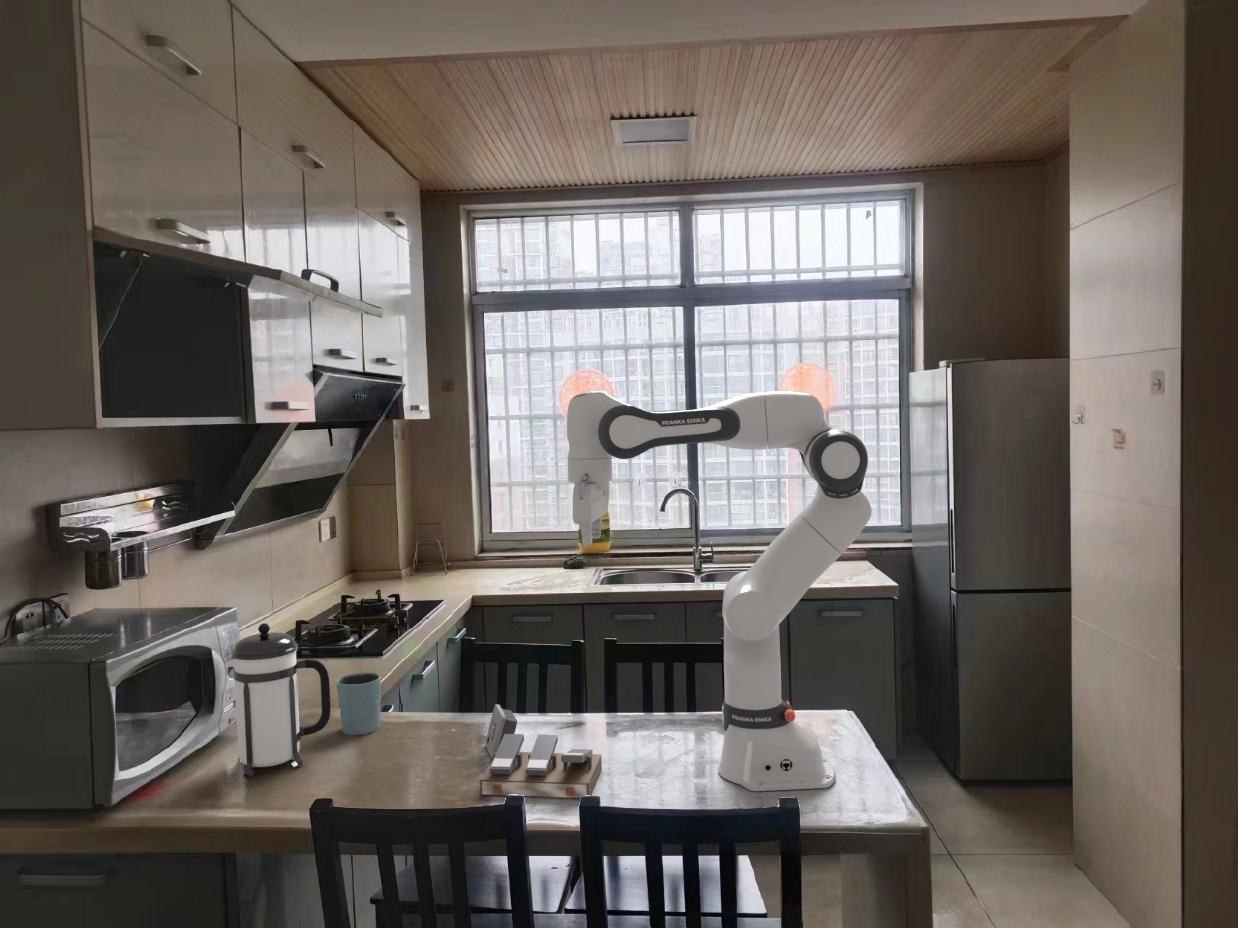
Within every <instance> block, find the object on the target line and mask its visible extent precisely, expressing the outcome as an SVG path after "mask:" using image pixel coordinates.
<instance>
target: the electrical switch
mask: <svg viewBox="0 0 1238 928" xmlns="http://www.w3.org/2000/svg"><path fill="white" fill-rule="evenodd" d="M517 725H518V720H517V718H516V716H515V715H514V712H513V711H512V710H509V709H504V708H502V707H501V705H500V704H494V707H493V711H492V713H491V718H490V722H489V726H488V730H487V734H486V739H485V743H484V744H485V745H484V746H485V748H486V750H487V752H488V755H489V758H490V759H492V760H493V759H494V755H493V754H494V753H495V752H497V750H498V748H499V746H500V743H501V741H502V739H503V736H504V734H516V733H515V732H516V729H517Z"/></svg>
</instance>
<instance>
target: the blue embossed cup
mask: <svg viewBox="0 0 1238 928" xmlns="http://www.w3.org/2000/svg"><path fill="white" fill-rule="evenodd" d="M335 684H336V689H337V690H336V691H337V697H338V707H339V710H340V711H339V714H340V721H341V729H342V733H343V734H345V735H347V736H364V735H368V733H369V734H371V732H372V733H375V732H376V730H377V731H378V730H379V729H380V727H381V701H382V700H381V689H382V686H381V685H382V676H381V674H379V673H376V672H357V673H351V674H347V675H346V674H345V675H344V676H341V677H338V678H337V680H336V682H335ZM374 731H375V732H374Z"/></svg>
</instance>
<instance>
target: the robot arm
mask: <svg viewBox="0 0 1238 928" xmlns="http://www.w3.org/2000/svg"><path fill="white" fill-rule="evenodd" d="M825 420H826V419H825V411H824V408H823V405H822V404H821V401H819V399H818V398H817V397H816V396H815V395H813V394H810V393H806V392H798V391H797V392H796V391H766V392H756V393H755V392H754V393H748V394H744V395H742V394H741V395H739V396H736V397H735V396H734V397H732V398H728V399H724V400H722V401H721V402H718V403H715V404H712V405H710V406H706V407H702V408H697V409H688V410H687V409H686V410H675V411H662V412H661V411H659V412H658V411H657V412H655V411H647V410H645V409H643V408H641V407H637V406H634V405H631V404H628V403H625V402H624V401H621V400H619V399H617V398H614V397H613V396H611V395H610V394H608V393H607V392H606V391H603V390H595V391H594V390H593V391H587V392H583V393H579V394H576V395H574V396H573V397H572V398H571V399H570V401H569V403H568V406H567V413H566V438H567V441H568V453H567V479H568V480H567V481H568V482H569V483H573V484H574V486H573V487H572V488H573V490H572V520H573V524H574V525H579V529H580V535H581V544H582V545H583V546H591V545H592V544H593V540H598V539H600V538H601V536H602V534H601V533H602V532H601V529H602V528H601V527H602V523H603V521H602V520H603V518H602V517H603V516H604V515H607V513H608V508H609V502H610V501H609V497H610V482H611V481H613V462H612V459H613V457H614V458H616V459H620V460H629V459H633V458H636V457H637V456H639V455H642V454H644V453H646V452H648V451H649V450H651V449H654V448H657V447H664V446H665V447H666V446H675V445H677V446H678V445H688V444H712V445H717V446H723V447H726V448H729V449H737V450H738V449H739V450H751V451H752V450H753V451H755V450H757V451H758V450H759V451H760V450H772V449H792V450H796V451H798V452H799V455H800V457H801V461H802V462H803V466H804V467H805V470H806V472H807V473H808V474H809V476H810V477H811V478H812V480H814V481H816V483H817V487H818V488H817V492H816V494H815V497H813V499H812V500H811V502H810V503H809V504H808V505H807V506H806V507H805V508H804V509H803V510H802V511H801V512H800V513H799V514H798V515H797V516H796V517H795V518H794V519H793V520H792V521H791V522H790V523H789V524H788V525H787V526H786V527H785V528H783V530H782V531H781V532H780V533H779V534H778V535H777V536H776V538H774V539H773V540H772V541H771V542H770V544H769V545H768V547H767V548H766V549H765V550H764V551H763V552H762V554H761V555H760V556H759V558H758V559H756V561H755V562H754V563H753V564H752V565H751V567H750V568H749V569H748V570H746V571H745V570H744V571H741V572H739V573H737V574H735V575H734V576H732V577H731V578H730V580H728V581H727V584H726V585H725V587H724V591H723V596H722V597H723V598H722V609H721V611H722V618H723V673H724V675H723V676H724V698H723V700H722V706H721V711H722V712H721V713H722V715H721V717H722V719H721V721H722V726H723V730H724V733H723V744H722V752H721V757H720V761H719V764H718V768H717V771H718V774H719V775H720V776H721V777H722V778H723V779H725V780H727V781H729V782H732V783H735V784H737V785H740V786H742V787H743V788H746V789H747V790H749V791H751V792H766V791H767V792H768V791H770V792H771V791H789V790H790V791H791V790H809V789H811V790H812V789H813V790H814V789H828V788H829V787H831V786H832V785H833V784H834V782H835V778H836V777H835V776H836V775H835V769H834V765H833V764H832V763H831V762H830V761H829V760H828V759H827V758H826V757H824V756H823V752H822V749H821V746H820V744H819V742H818V740H817V738H816V737H815V736H814V735H813V733H811V732H810V731H808V730H806V729H805V728H804V727H802V726H801V725H800V724H799V723H797V722H796V721H795V720H796V712H795V710H793V707H792V705H791V704H790V702H789V700H786V701H785V700H783V699H782V669H781V667H782V665H781V646H780V640H781V639H780V624H781V623H782V622H783V620H784V619H785V618H786V617H787V616H788V615H789V614H790V612H791V611H792V610H793V609H794V608H795V606H796V605H797V604H798V603H799V601H801V599H802V598H803V597H804V595H805V594H806V593H807V591H808V590H809V589H810V588H811V586H812V585H813V584H814V583H815V582H816V581H817V580H818V579H819V578H820V576H822V575H823V574H824V573H825V572H826V571H827V570H828V569H829V568H830V567H831V566H832V565H833V564H834V563H835V561H837V560H838V559H839V558H840V556H842V554H843V553H845V552H846V550H847V549H849V547H850V546H851V545H852V544H853V543H854V541H856V539H857V538H858V536H859V535H860V534H861V533H862V531H863V530H864V529H865V527H866V525H868V522H869V521H870V518H872V513H873V512H872V506H871V503H870V501H869V499H868V497H867V496H866V495H865V493H864V492H862V488H863V484H864V481H865V476H866V473H867V471H868V465H869V455H868V451H867V447H866V446H865V444H864V443H863V441H862V440H861V439H860V438H859V437H858V436H857V435H855V434H853V433H852V432H850V431H846V430H843V429H837V428H833V427H832V426H829V425H828V424H827V422H826V421H825Z"/></svg>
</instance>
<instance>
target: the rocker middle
mask: <svg viewBox="0 0 1238 928" xmlns="http://www.w3.org/2000/svg"><path fill="white" fill-rule="evenodd" d="M558 742H559V735H558V734H537V737H536V739H535V743H534V745H533V748H532V750H531V752H532V753H531V756H530V758H529V761H528V764H527V766H526V769H525V772H526V775H541V776H546V775H547V772H548V769H549V766H550V763H551V760H552V755H553V754H554V753H555V751H556V748H557V744H558Z"/></svg>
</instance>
